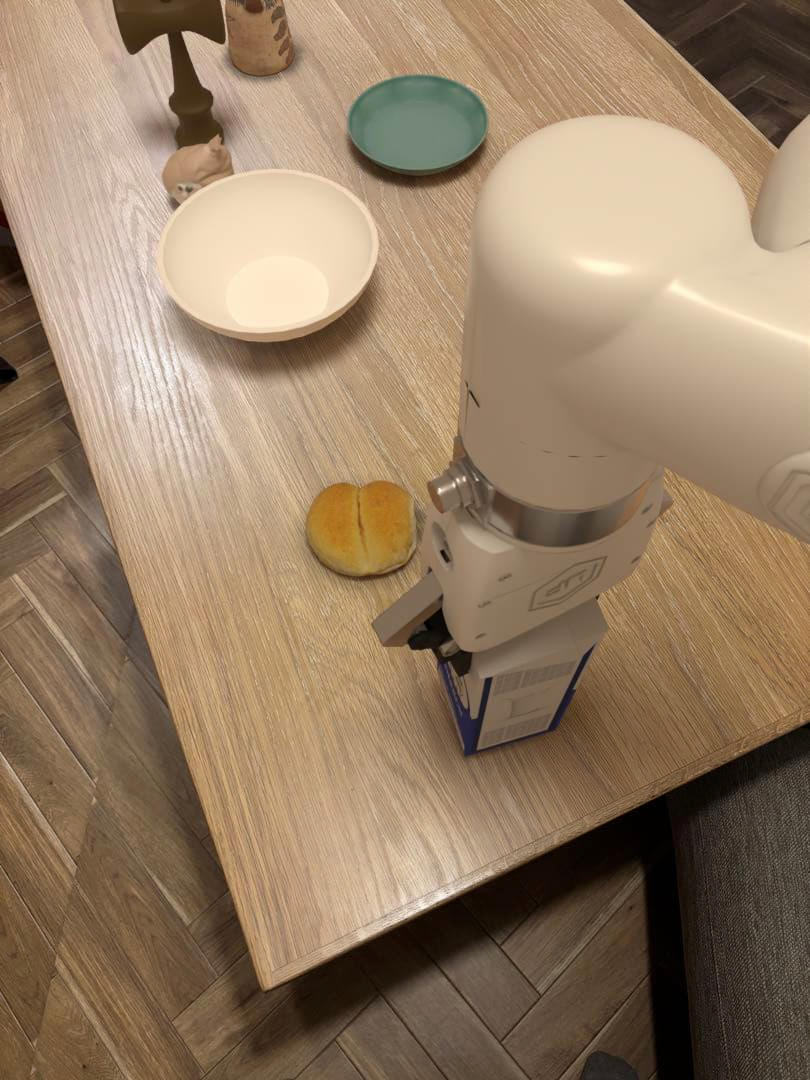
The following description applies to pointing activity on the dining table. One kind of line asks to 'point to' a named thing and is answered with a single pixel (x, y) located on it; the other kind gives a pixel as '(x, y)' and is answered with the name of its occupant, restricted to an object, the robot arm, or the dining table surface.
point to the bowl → (268, 254)
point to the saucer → (418, 123)
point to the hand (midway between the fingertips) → (512, 620)
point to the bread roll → (362, 527)
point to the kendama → (177, 55)
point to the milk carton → (523, 680)
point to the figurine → (258, 36)
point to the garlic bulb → (196, 168)
